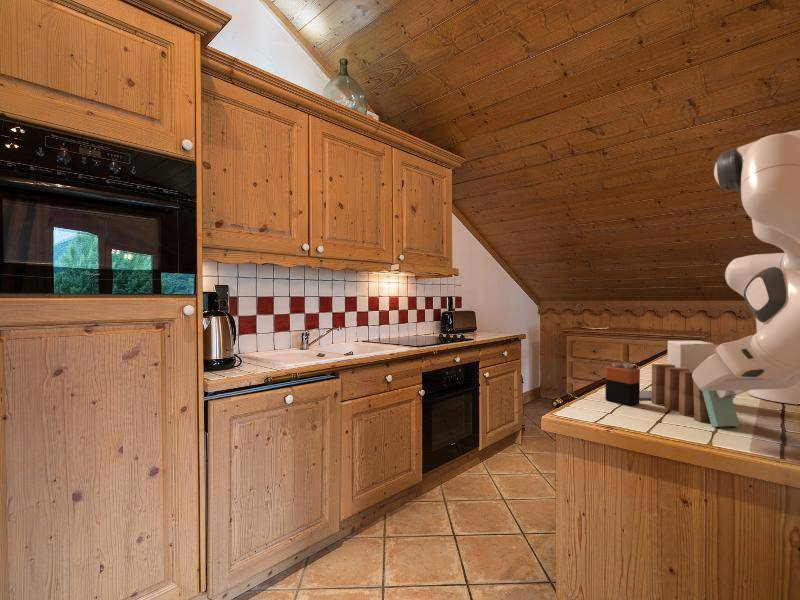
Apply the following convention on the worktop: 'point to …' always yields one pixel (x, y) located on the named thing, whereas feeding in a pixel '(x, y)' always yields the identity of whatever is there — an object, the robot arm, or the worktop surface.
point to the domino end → (720, 410)
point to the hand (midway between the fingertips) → (723, 394)
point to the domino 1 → (659, 382)
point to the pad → (645, 395)
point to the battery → (622, 384)
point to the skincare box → (689, 353)
